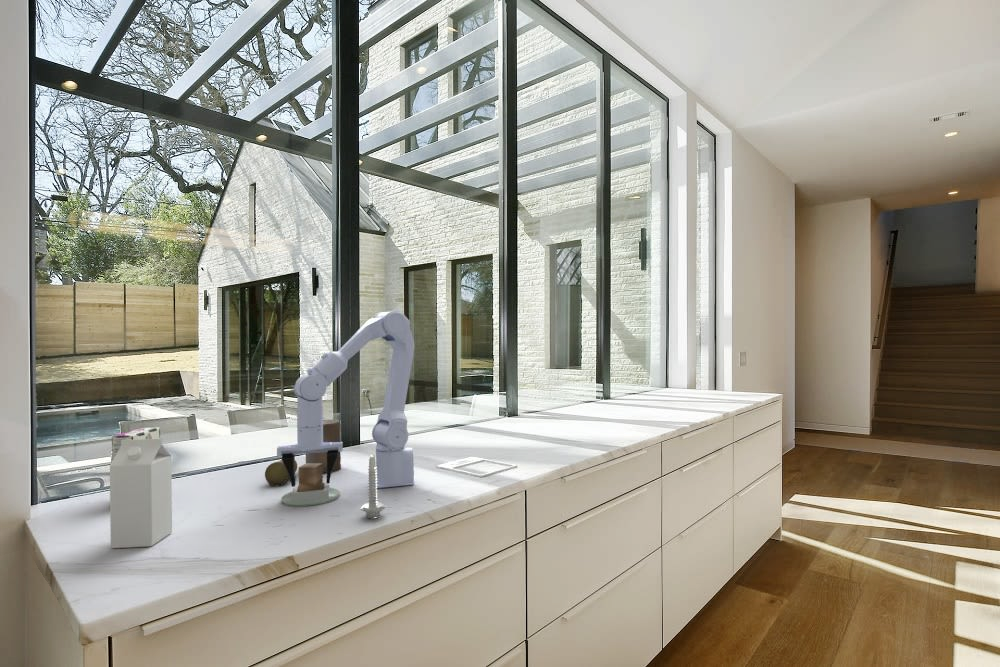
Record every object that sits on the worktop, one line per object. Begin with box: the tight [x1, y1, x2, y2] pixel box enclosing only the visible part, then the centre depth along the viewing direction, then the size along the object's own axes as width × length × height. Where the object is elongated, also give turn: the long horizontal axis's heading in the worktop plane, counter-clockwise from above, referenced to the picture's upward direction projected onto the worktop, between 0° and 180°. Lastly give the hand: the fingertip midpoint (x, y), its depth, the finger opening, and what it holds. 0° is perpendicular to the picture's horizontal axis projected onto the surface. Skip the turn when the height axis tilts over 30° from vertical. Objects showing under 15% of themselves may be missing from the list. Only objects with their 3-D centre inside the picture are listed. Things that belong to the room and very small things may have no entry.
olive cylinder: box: [264, 459, 298, 487], centre depth 142 cm, size 6×6×11 cm
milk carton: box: [109, 438, 173, 549], centre depth 100 cm, size 7×7×19 cm
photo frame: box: [436, 456, 518, 478], centre depth 153 cm, size 15×1×18 cm
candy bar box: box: [111, 426, 161, 462], centre depth 126 cm, size 11×5×16 cm, turn 4°
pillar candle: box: [305, 419, 342, 474], centre depth 153 cm, size 10×10×15 cm
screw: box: [360, 454, 386, 519], centre depth 111 cm, size 13×5×5 cm
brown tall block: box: [298, 462, 324, 492], centre depth 126 cm, size 4×4×7 cm
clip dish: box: [280, 481, 341, 507], centre depth 126 cm, size 13×13×2 cm
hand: (311, 484), depth 126 cm, fingers open, 7 cm apart
